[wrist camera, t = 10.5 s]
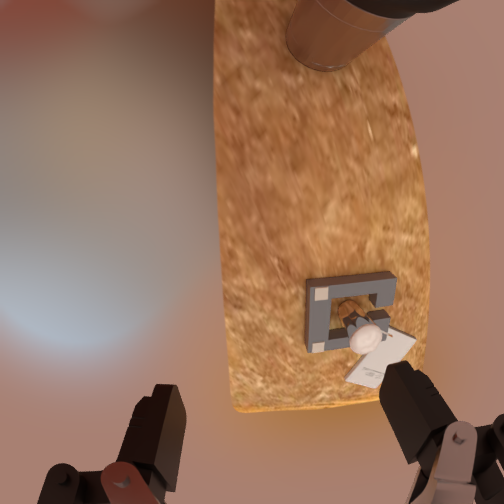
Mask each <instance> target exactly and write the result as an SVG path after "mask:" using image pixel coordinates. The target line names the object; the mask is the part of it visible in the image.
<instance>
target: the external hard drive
mask: <svg viewBox="0 0 504 504" xmlns="http://www.w3.org/2000/svg"><path fill="white" fill-rule="evenodd" d="M388 333H389V334H391V335H393V337H391V336H388V335H387V338H386V341H381V342H380V344H379V345H378V347H377V348H376V350H375V351H373V352H370V353H367V354H363V355H362V357H361V358H360V359H359V360H358V361H357V363H356V364H355V365H354V366H353V368H352V369H351V370H350V371H349V372H348V373H347V375H346V376H345V377H344V378H345V380H346V381H347V382H351V383H355V384H359V385H363V386H367V387H371V388H377V387H378V386H379V385H380V383H381V382H382V381H383V378H384V374H385V371H386V368H387V366H388V365H389V364H392V363H396V362H400V361H401V359H402V358H403V357H404V356H405V354H406V353H407V352H408V351H409V349H410V348H411V347H412V346H413V344H414V343H415V342H416V340H417V339H416V338H415V337H414V336H412V335H409V334H407V333H405V332H402V331H400V330H398V329H396V328H393V327H391V326H389V328H388Z"/></svg>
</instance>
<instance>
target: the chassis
mask: <svg viewBox="0 0 504 504" xmlns="http://www.w3.org/2000/svg"><path fill="white" fill-rule="evenodd" d="M396 282H397V277H395V276H394V275H393V274H392V273H391V272H390V271H387V272H378V273H369V274H359V275H350V276H339V277H329V278H318V279H306V324H305V346H306V349H307V352H308V353H311V352H312V353H317V352H324V351H326V350H334V349H340V348H347V347H350V345H349V342H348V339H347V336H346V333H345V330H344V328H341V329H333V330H329V325H330V312H331V299H332V298H341V297H350V296H358V295H366V294H370V297H369V300H370V301H371V303H372V304H373V305H374V306H375V308H377V307H383V306H390V305H393V301H394V295H395V289H396ZM367 316H368V317H369V318H370V319H371V320H372V321H373V322H374V323H375V324H376V325H377V326H378V327H379V328H380V329H381V330H382V331H384V332H387V333H388V328H389V323H390V318H391V317H390V316H389V315H388V314H387V312H386V311H385V310H378V311H371V312H367ZM386 338H387V335H386V334H384V333H382V340H381V341H386Z"/></svg>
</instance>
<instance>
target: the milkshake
mask: <svg viewBox="0 0 504 504" xmlns="http://www.w3.org/2000/svg"><path fill="white" fill-rule="evenodd" d="M338 315H339V318H340V320H341V323H342V325H343V328H344V330H345V333H346V336H347V339H348V342H349V345H350V348H351V349H352V351H354V352H355V353H358V354H367V353H370V352H373V351H375V350H376V348H377V347H378V345H379V344H380V342H381V340H382V333H384V334H386V335H388V336H391V337H393V335H391V334H389V333H387V332H384V331H382V330H381V329H380V328H379V327H378V326H377V325H376V324H375V323H374V322H373V321H372V320H371V319H370V318H369V317H368V316H367V314H366V313H365V312H364V311H363V310H362V309H361V308H360V307H359V305H358V304H357V303H356V302H355V301H353V300H347V301H345V302H343V303H341V305H340V307H339V308H338Z"/></svg>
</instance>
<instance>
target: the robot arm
mask: <svg viewBox="0 0 504 504" xmlns="http://www.w3.org/2000/svg"><path fill="white" fill-rule="evenodd" d="M456 1H459V0H298V2H297V5H296V7H295V10H294V13H293V15H292V18H291V20H290V23H289V26H288V28H287V32H286V43H287V46H288V48H289V50H290V52H291V53H292V55H293V56H294V57H295V58H296V59H297V60H298V61H300V62H301V63H302V64H304V65H306V66H308V67H309V68H312V69H315V70H319V71H335V70H339V69H341V68H343V67H345V66H346V65H347V64H348V63H350V62H351V61H352V60H353V59H355V58H356V57H357V56H359V55H360V54H361V53H363V52H364V51H365V50H366V49H368V48H369V47H370V46H372V45H373V44H374V43H376V42H377V41H378V40H379V39H381V38H382V37H384V36H385V35H386V34H387V33H389V32H390V31H392V30H393V29H394V28H396V27H397V26H398V25H400V24H401V23H403V22H404V21H406V20H407V19H408V18H410V17H411V16H413V15H414V14H415V13H428V12H433V11H436V10H439V9H441V8H443V7H445V6H448V5H450V4H452V3H454V2H456ZM379 398H380V403H381V405H382V407H383V410H384V412H385V414H386V416H387V418H388V420H389V422H390V424H391V427H392V429H393V431H394V433H395V435H396V438H397V440H398V442H399V444H400V446H401V449H402V451H403V453H404V456H405V458H406V460H407V462H408V464H411V463H414V462H416V461H418V462H419V464H420V466H419V468H418V471H417V473H416V476H415V479H414V482H413V485H412V487H411V490H410V493H409V495H408V497H407V500H406V502H405V504H473V501H474V499H475V502H476V504H504V477H503V475H502V473H501V471H500V469H499V467H498V465H497V463H496V460H497V459H498V460H499V462H500V464H501V466H502V468H503V470H504V414H501V415H499V416H498V417H497V418H496V419H495V421H494V422H493V424H491V425H486V426H481V427H473V426H472V425H471V424H470V423H468V422H464V421H458V420H457V419H456V417H455V416H454V414H453V413H452V411H451V410H450V408H449V407H448V405H447V404H446V402H445V401H444V399H443V398H442V396H441V395H440V394H439V392H438V391H437V389H436V388H435V387H434V384H433V383H432V382H431V380H430V379H429V377H428V376H427V375H425V374H424V373H422V372H421V371H420V370H415V371H414V369H413V368H412V367H411V365H410V364H409V362H408V361H406V360H405V361H401V362H396V363H392V364H389V365H388V366H387V368H386V371H385V374H384V378H383V381H382V384H381V388H380V392H379ZM185 428H186V411H185V407H184V404H183V402H182V399H181V396H180V393H179V390H178V387H177V385H170V384H156V385H155V388H154V390H153V393H152V396H151V397H147V396H144V397H143V398H142V399H141V400H140V401H139V402H138V403H137V405H136V406H135V409H134V411H133V414H132V418H131V420H130V423H129V427H128V429H127V431H126V435H125V437H124V440H123V443H122V446H121V449H120V452H119V455H118V458H117V460H116V462H114V463H111V464H109V465H108V466H107V467H105V468H104V470H102V471H91V472H90V471H89V472H78V471H77V470H76V469H75V468H74V467H73V466H71V465H68V464H65V463H61V464H56V465H54V466H53V467H52V468H51V469H50V470H49V471H48V473H47V476H46V479H45V482H44V485H43V487H42V490H41V493H40V496H39V500H38V503H37V504H167V503H166V502H165V500H164V499H165V492H166V491H170V492H175V489H176V482H177V476H178V470H179V463H180V457H181V451H182V445H183V439H184V433H185Z"/></svg>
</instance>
